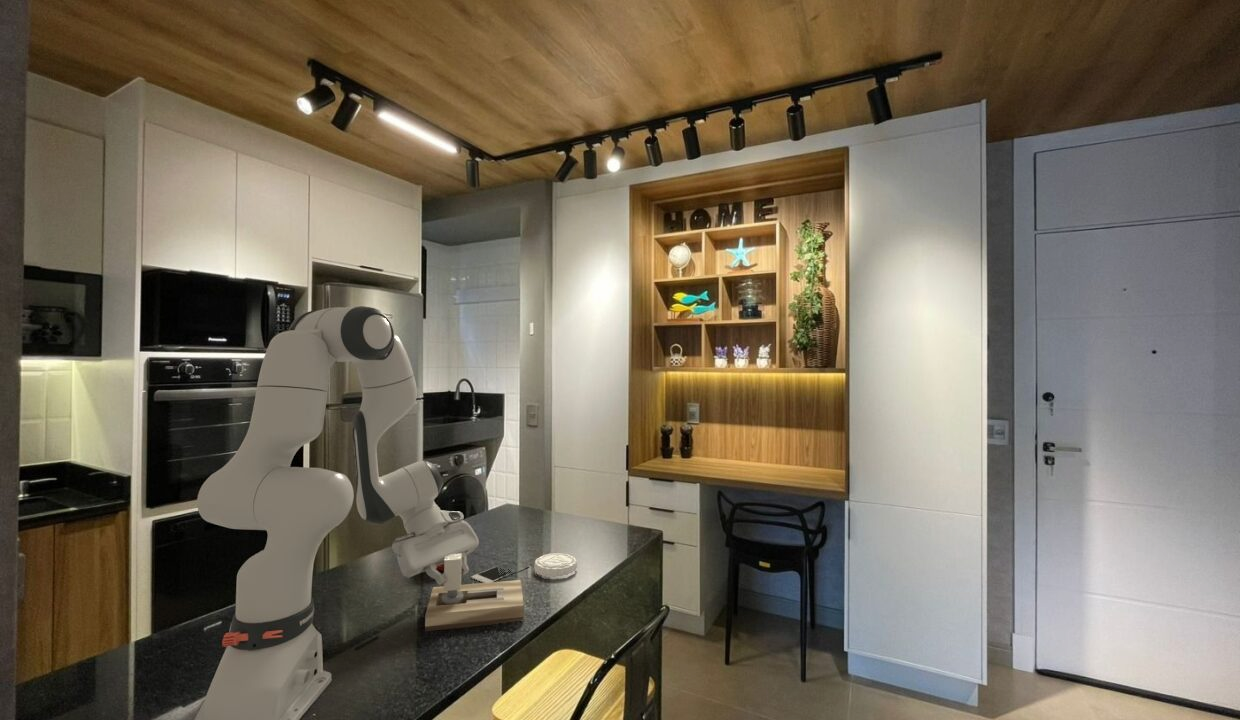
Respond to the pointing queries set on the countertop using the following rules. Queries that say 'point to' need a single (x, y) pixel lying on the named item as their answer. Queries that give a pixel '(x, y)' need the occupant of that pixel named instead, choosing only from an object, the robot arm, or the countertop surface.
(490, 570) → the smartphone
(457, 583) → the cream peg
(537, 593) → the countertop surface
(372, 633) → the countertop surface
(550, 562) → the container lid
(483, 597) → the keyhole plate
